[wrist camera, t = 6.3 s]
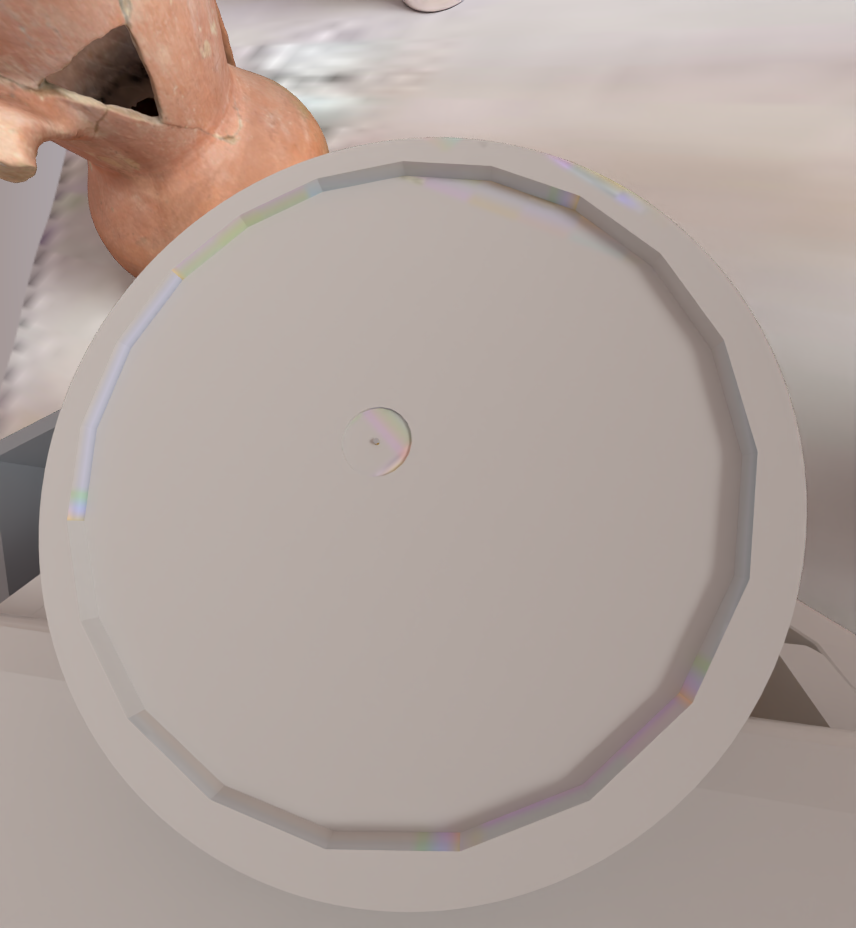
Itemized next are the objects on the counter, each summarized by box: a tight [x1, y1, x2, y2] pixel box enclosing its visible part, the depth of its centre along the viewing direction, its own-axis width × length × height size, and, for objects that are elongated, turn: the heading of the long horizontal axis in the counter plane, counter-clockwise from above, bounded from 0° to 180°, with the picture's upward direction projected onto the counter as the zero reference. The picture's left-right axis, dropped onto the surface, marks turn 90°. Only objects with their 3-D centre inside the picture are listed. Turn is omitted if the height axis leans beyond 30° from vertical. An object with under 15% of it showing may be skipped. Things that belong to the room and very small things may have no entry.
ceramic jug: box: [0, 0, 329, 278], centre depth 16 cm, size 18×14×14 cm
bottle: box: [39, 137, 807, 912], centre depth 10 cm, size 7×7×15 cm
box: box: [0, 409, 61, 603], centre depth 17 cm, size 14×14×4 cm
